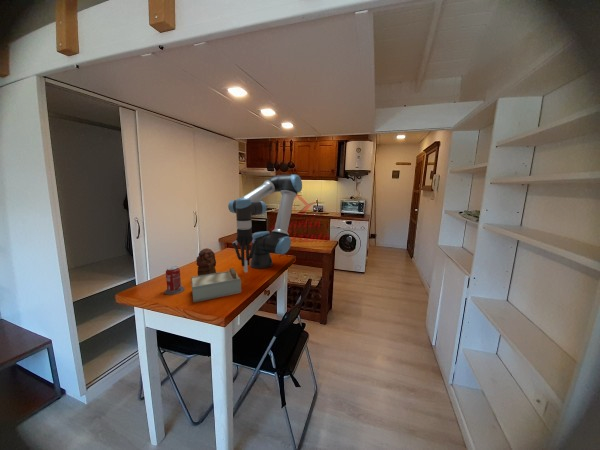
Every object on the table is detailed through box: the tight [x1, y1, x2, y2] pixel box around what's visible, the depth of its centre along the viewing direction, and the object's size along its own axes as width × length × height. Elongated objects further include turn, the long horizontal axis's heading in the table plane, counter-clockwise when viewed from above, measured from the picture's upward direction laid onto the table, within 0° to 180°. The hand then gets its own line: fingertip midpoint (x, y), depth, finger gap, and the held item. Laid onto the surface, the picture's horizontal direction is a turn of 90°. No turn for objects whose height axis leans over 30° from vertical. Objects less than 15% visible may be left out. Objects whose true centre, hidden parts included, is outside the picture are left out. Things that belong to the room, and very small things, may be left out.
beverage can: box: [165, 265, 182, 292], centre depth 113 cm, size 6×6×12 cm
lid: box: [191, 267, 240, 287], centre depth 112 cm, size 21×11×3 cm, turn 118°
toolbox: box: [190, 269, 242, 303], centre depth 113 cm, size 22×13×8 cm, turn 118°
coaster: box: [164, 285, 185, 296], centre depth 114 cm, size 9×9×1 cm
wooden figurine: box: [195, 247, 217, 276], centre depth 128 cm, size 12×6×18 cm, turn 167°
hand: (245, 271), depth 119 cm, fingers closed
